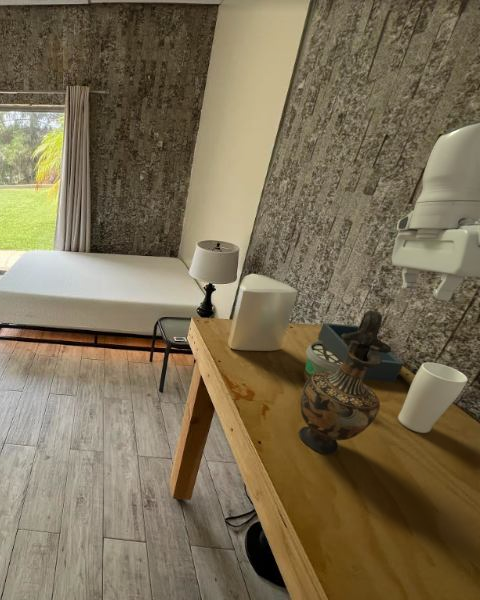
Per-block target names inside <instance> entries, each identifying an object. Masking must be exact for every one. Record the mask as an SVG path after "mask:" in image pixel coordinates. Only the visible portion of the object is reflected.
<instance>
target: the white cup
mask: <svg viewBox="0 0 480 600" xmlns="http://www.w3.org/2000/svg"><path fill="white" fill-rule="evenodd" d="M468 381H469V380H468V377H467V376H466V375H465V373H463V372H461V371H459V369H456V368H453V367H451V366H448V365H445V364H443V363H437V362H430V361H429V362H423V363H422V364H421V365H420V367H419V368H418V370H417V372H416V373H415V375H414V376H413V379H412V381H411V384H410V385H409V386H410V387H409V389H408V392H407V395H406V397H405V400H404V403H403V405H402V407H401V410H400V411H399V414H398V415H397V419H398V422H399V423H400V424H401V425H402V426H403V427H405V428H406V429H409V430H410V431H413V432H416V433H420V434H426V433H430V432H431V430H432V429H433V428H434V426H435V424H436V423H437V422H438V421H439V420H440V418H441V417H442V416H443V415H444V414H445V413H446V411H447V410H448V409H449V408H450V407H451V406H452V404H453V403H454V402H455V401H456V400H457V398H458V397H459V396H460V394H461V393H462V392H463V390H464V388H465V386H466V384H467V382H468Z"/></svg>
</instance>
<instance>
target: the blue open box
mask: <svg viewBox="0 0 480 600" xmlns="http://www.w3.org/2000/svg"><path fill="white" fill-rule="evenodd" d="M359 326H360V325H351V324H340V323H326V322H323V323H322V326H321V329H320V331H319V334H318V337H317V341H323V342H322V345H323V346H324V347H326V348H327V349H328V350H330V351H331V352H333V353H334V354H336V355H337V356H338V357H339V358H340V360H341V361H342V362H343V363H344V361H345V359H346V357H347V352H346V351H347V347H348V346H347V344H345V343H344V340H343V339H342V338H341V335H342V334H349V333H353V332H357V331H358V328H359ZM379 353H380V355H381V360H382V362H381V364H380V365H379V366H377V367H374V368H367V370H366V373H365V375H364V378H363V380H372V381H380V382H389V383H395V382H396V379H397V378H398V376H399V374H400V372H401V370H402V368H403V366H404V363H403V362H402V361H401V360H399V358H397V356H395V355H394V354H393V353H392V351H391V352H389V353H383V352H379Z"/></svg>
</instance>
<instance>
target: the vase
mask: <svg viewBox="0 0 480 600" xmlns="http://www.w3.org/2000/svg"><path fill="white" fill-rule="evenodd" d="M382 321H383V316H382V313H380V312H379V311H373V310H367V311H366V312H364V313H363V317H362V319H361V321H360V323H359V325H358V326H359V328H358V331H357V332H353V333H349V334H342V335H341V338H342V339H343V340H344V343H345V344H347V346H348V347H347V351H346V352H347V357H346V359H345V361H344V363H343V364H342V366H341V367H340V369H339V370H338V371H337V372H332V371H320V372H316V373H314V374H312V375H311V376H310V377H309V378H308V380H307V381H306V383H305V382H304V385H303V388H302V391H301V396H300V414H301V416H302V419H303V421H304V423H305V424H306V425H307V426H303V427H301V428H300V429H299V431H298V437H299V439H300V440H301V441H302V443H303V444H304V445H306V446H307V447H308V448H310V449H311V450H313V451H315V452H317V453H318V454H322V455H327V456H333V455H335V454H337V453H338V452H339V448H340V447H339V443H338V442H337V441H347V440H350V439H352V438H355V437H357V436H358V435H360V434H361V433H362V432H364V431H365V430H366V429H368V427H370V425H371V424H372V423H373V422H374V420H375V419H376V418H377V416H378V413H379V411H380V408H381V401H380V399H379V396H378V395H377V394H376V393H375V392H374V391H373V389H372V388H370V387H369V386H368V385H366V384H365V383H363V381H364V379H363V378H364V375H365V373H366V370H367V368H374V367H377V366H379V365H380V364H381V362H382V360H381V355H380V353H379V352H383V353H389V352H391V353H392V347H391V346H390V345H389V344H387V343H385V342H383V341H382V340H381V339H379V338H378V335H379V331H380V328H381V326H382Z"/></svg>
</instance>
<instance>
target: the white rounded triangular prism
mask: <svg viewBox="0 0 480 600" xmlns="http://www.w3.org/2000/svg"><path fill="white" fill-rule="evenodd" d="M298 293H299V291H298V290H297V289H296V288H294V287H292V286H291V285H289V284H286V283H284V282H282V281H279V280H277V279H274V278H271V277H269V276H266V275H262V274H257V273H250V274H247V275H244V276H243V279H242V280H241V281H240V285H239V289H238V294H237V298H236V303H235V309H234V313H233V316H232V322H231V327H230V331H229V336H228V340H227V346H228V347H229V349H231V348H232V349H231V350H238V351H257V352H258V351H259V352H260V351H261V352H262V351H263V352H266V351H267V352H272V351H273V352H274V351H279V350H281V348H282V345H283V342H284V338H285V335H286V332H287V328H288V326H289V322H290V319H291V315H292V312H293V309H294V306H295V303H296V299H297V296H298Z"/></svg>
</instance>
